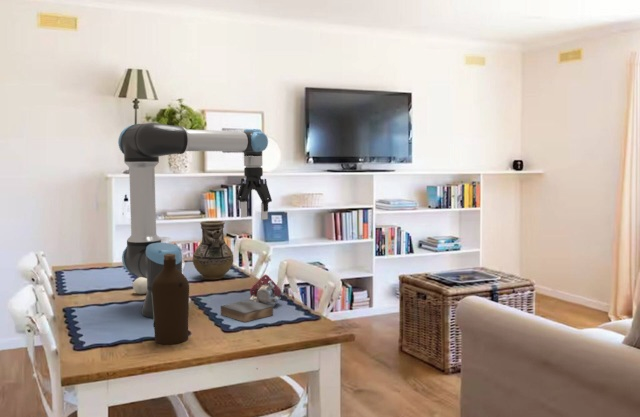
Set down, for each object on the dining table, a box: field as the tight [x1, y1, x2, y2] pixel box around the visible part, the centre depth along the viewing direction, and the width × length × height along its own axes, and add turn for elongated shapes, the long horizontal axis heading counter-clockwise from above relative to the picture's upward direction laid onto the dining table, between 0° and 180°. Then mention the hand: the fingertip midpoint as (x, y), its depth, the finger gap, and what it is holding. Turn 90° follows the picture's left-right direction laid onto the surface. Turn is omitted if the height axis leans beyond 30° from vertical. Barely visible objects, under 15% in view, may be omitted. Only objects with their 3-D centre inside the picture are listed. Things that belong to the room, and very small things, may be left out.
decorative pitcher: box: [192, 220, 234, 281], centre depth 257 cm, size 22×18×25 cm
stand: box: [220, 299, 274, 323], centre depth 196 cm, size 12×13×3 cm
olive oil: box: [151, 254, 190, 345], centre depth 168 cm, size 11×11×25 cm
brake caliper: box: [248, 274, 282, 308], centre depth 208 cm, size 11×11×12 cm
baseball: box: [132, 276, 147, 295], centre depth 227 cm, size 7×7×7 cm
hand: (254, 218), depth 240 cm, fingers open, 13 cm apart
